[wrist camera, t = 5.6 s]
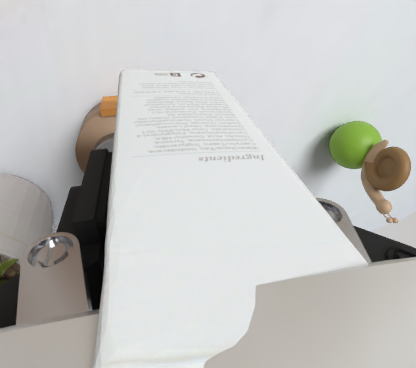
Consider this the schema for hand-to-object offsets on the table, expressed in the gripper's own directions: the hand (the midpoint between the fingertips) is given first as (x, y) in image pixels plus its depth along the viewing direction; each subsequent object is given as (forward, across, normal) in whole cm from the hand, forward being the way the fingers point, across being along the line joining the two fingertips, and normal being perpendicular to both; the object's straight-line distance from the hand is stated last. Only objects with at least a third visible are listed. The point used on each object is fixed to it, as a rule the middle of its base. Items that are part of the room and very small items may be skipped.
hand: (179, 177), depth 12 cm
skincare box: (+4, 0, 0) cm, 4 cm away
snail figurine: (+20, -21, +10) cm, 31 cm away
